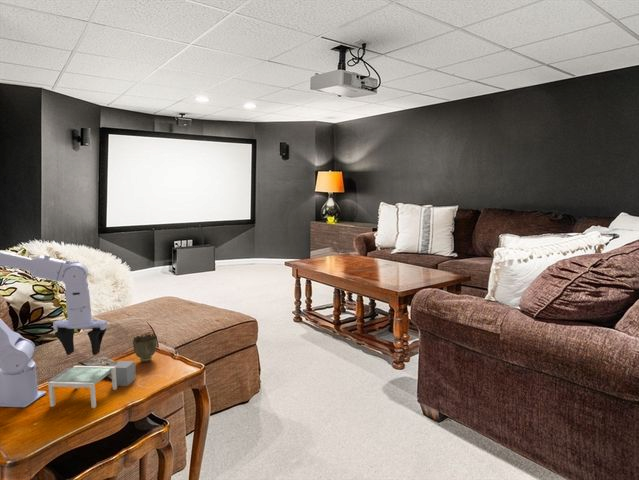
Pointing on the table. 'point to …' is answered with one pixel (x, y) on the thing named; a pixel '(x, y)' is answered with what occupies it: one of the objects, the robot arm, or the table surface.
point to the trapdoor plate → (81, 375)
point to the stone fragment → (99, 361)
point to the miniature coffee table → (81, 385)
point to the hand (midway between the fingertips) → (83, 353)
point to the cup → (145, 347)
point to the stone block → (125, 372)
